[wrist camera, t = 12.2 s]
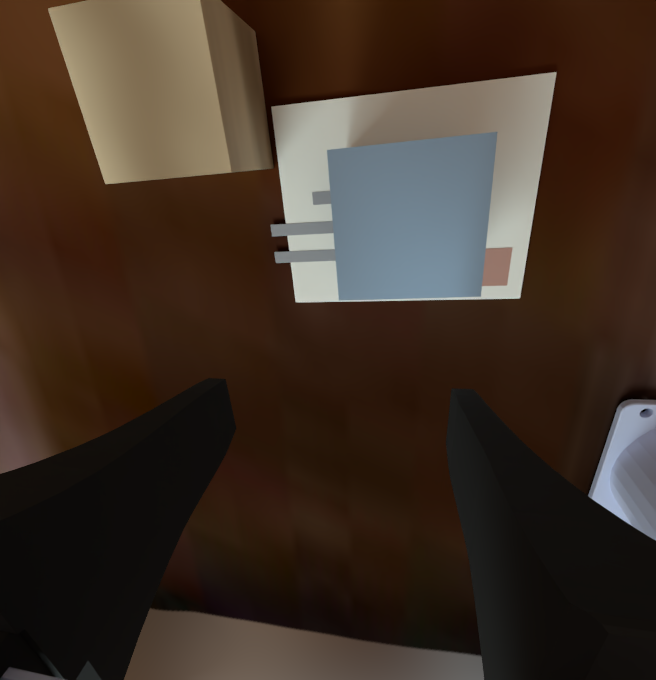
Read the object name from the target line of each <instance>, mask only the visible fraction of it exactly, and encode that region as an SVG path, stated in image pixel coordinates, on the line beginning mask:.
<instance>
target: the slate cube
mask: <svg viewBox="0 0 656 680" xmlns="http://www.w3.org/2000/svg"><path fill="white" fill-rule="evenodd" d="M496 142H497V132H490V133H481V134H471V135H462V136H453V137H443V138H434V139H425V140H415V141H406V142H397V143H387V144H378V145H368V146H359V147H350V148H340V149H331V150H327V158H328V170H329V183H330V195H331V208H332V221H333V233H334V246H335V258H336V271H337V283H338V296H339V300H375V299H412V298H449V297H481V291H482V281H483V271H484V261H485V251H486V241H487V231H488V221H489V211H490V202H491V192H492V182H493V172H494V162H495V152H496Z"/></svg>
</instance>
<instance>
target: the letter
mask: <svg viewBox="0 0 656 680" xmlns="http://www.w3.org/2000/svg"><path fill="white" fill-rule="evenodd" d="M556 73H557V72H552V73H544V74H536V75H528V76H520V77H511V78H503V79H495V80H487V81H478V82H470V83H462V84H454V85H446V86H437V87H429V88H421V89H413V90H404V91H396V92H388V93H380V94H372V95H363V96H355V97H347V98H339V99H330V100H322V101H314V102H306V103H298V104H289V105H281V106H273V107H271V109H272V117H273V125H274V133H275V141H276V149H277V157H278V165H279V173H280V181H281V189H282V197H283V205H284V213H285V221H286V224H275V225H271V232H272V236H287V237H288V244H289V251H287V252H274V253H275V260H276V263H289V262H291V268H292V276H293V284H294V292H295V300H296V302H347V301H403V300H460V299H516V298H520V295H521V289H522V283H523V277H524V271H525V264H526V258H527V252H528V246H529V240H530V233H531V227H532V221H533V215H534V209H535V203H536V196H537V190H538V184H539V178H540V172H541V166H542V159H543V153H544V147H545V141H546V135H547V128H548V122H549V116H550V110H551V104H552V98H553V91H554V85H555V79H556ZM490 132H497V142H496V152H495V162H494V172H493V182H492V192H491V202H490V211H489V221H488V231H487V241H486V251H485V261H484V271H483V281H482V291H481V297H449V298H412V299H375V300H339V296H338V283H337V271H336V258H335V246H334V233H333V221H332V208H331V195H330V183H329V170H328V158H327V150H331V149H340V148H350V147H359V146H368V145H378V144H387V143H397V142H406V141H415V140H425V139H434V138H443V137H453V136H462V135H471V134H481V133H490Z"/></svg>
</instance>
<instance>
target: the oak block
mask: <svg viewBox="0 0 656 680" xmlns="http://www.w3.org/2000/svg"><path fill="white" fill-rule="evenodd" d="M48 10H49V13H50V17H51V20H52V23H53V26H54V29H55V32H56V35H57V38H58V41H59V44H60V47H61V50H62V53H63V56H64V59H65V62H66V65H67V68H68V71H69V75H70V78H71V81H72V84H73V87H74V90H75V93H76V96H77V99H78V102H79V105H80V108H81V111H82V114H83V117H84V120H85V123H86V126H87V130H88V133H89V136H90V139H91V142H92V145H93V148H94V151H95V154H96V157H97V160H98V163H99V166H100V169H101V172H102V175H103V178H104V181H105V184H112V183H123V182H134V181H145V180H156V179H167V178H178V177H189V176H199V175H209V174H220V173H230V172H241V171H251V170H262V169H272V168H274V165H273V158H272V151H271V144H270V136H269V129H268V122H267V114H266V107H265V100H264V92H263V85H262V78H261V70H260V63H259V56H258V48H257V41H256V34H255V31H254V30H253V29H252V28H251V27H250V26H249V25H247V24H246V23H245V22H244V21H243V20H242V19H241V18H240V17H239V16H237V15H236V14H235V13H234V12H233V11H232V10H231V9H230V8H229V7H228V6H226V5H225V4H224V3H223V2H222V1H221V0H87V1H83V2H78V3H73V4H68V5H63V6H58V7H53V8H49V9H48Z"/></svg>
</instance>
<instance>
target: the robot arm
mask: <svg viewBox="0 0 656 680" xmlns="http://www.w3.org/2000/svg"><path fill="white" fill-rule="evenodd" d="M643 409H647V410H646V411H644V412H641V411H642V410H643ZM235 430H236V425H235V421H234V416H233V411H232V407H231V402H230V398H229V393H228V389H227V384H226V379H212V378H208V379H206V380H204V381H202V382H200V383H198V384H196V385H194V386H192V387H191V388H189V389H187V390H185V391H184V392H182V393H180V394H178V395H177V396H175V397H173V398H171V399H170V400H168V401H166V402H165V403H163V404H161V405H159V406H158V407H156V408H154V409H152V410H151V411H149V412H147V413H145V414H143V415H141V416H139V417H137V418H136V419H134V420H132V421H130V422H128V423H126V424H124V425H123V426H121V427H119V428H117V429H115V430H113V431H111V432H108V433H106V434H104V435H102V436H100V437H98V438H95V439H93V440H91V441H89V442H86V443H84V444H82V445H80V446H77V447H75V448H72V449H70V450H67V451H64V452H62V453H59V454H57V455H54V456H51V457H49V458H46V459H44V460H41V461H38V462H36V463H33V464H30V465H27V466H24V467H21V468H18V469H15V470H12V471H9V472H6V473H2V474H0V680H124V677H125V674H126V672H127V669H128V666H129V663H130V660H131V657H132V654H133V652H134V649H135V646H136V643H137V640H138V637H139V635H140V632H141V629H142V627H143V624H144V622H145V619H146V617H147V614H148V611H149V609H150V606H151V604H152V601H153V598H154V596H155V593H156V591H157V589H158V586H159V584H160V581H161V579H162V577H163V574H164V572H165V570H166V567H167V565H168V562H169V560H170V558H171V556H172V553H173V551H174V549H175V547H176V545H177V542H178V540H179V538H180V536H181V534H182V531H183V529H184V527H185V525H186V523H187V522H188V520H189V518H190V516H191V514H192V512H193V511H194V509H195V507H196V505H197V504H198V502H199V500H200V498H201V497H202V495H203V493H204V492H205V490H206V488H207V486H208V485H209V483H210V481H211V479H212V478H213V476H214V474H215V473H216V471H217V469H218V467H219V465H220V464H221V462H222V460H223V458H224V456H225V455H226V452H227V450H228V448H229V445H230V443H231V440H232V438H233V435H234V432H235ZM446 446H447V456H448V465H449V473H450V478H451V482H452V487H453V491H454V496H455V500H456V504H457V508H458V513H459V517H460V521H461V525H462V530H463V534H464V538H465V542H466V547H467V552H468V557H469V562H470V569H471V576H472V583H473V591H474V598H475V605H476V613H477V621H478V629H479V637H480V645H481V654H482V663H483V671H484V680H656V400H640V399H631V400H626V401H624V402H622V403H621V404H619V406H618V408H617V411H616V414H615V417H614V420H613V423H612V426H611V429H610V432H609V435H608V438H607V441H606V444H605V447H604V450H603V453H602V456H601V459H600V462H599V465H598V468H597V471H596V474H595V477H594V480H593V483H592V486H591V489H590V492H589V495H588V496H587V495H586V494H584V493H583V492H582V491H580V490H579V489H578V488H576V487H575V486H574V485H573V484H571V483H570V482H569V481H567V480H566V479H565V478H564V477H562V476H561V475H560V474H559V473H557V472H556V471H555V470H553V469H552V468H551V467H550V466H549V465H548V464H546V463H545V462H544V461H543V460H542V459H541V458H540V457H538V456H537V455H536V454H535V453H534V452H533V451H532V450H531V449H530V448H528V447H527V446H526V445H525V444H524V443H523V442H522V441H521V440H520V439H519V438H518V437H517V436H516V435H515V434H514V433H513V432H512V431H511V430H510V429H509V428H508V427H507V426H506V425H505V424H504V423H503V422H502V420H501V419H500V418H499V417H498V416H497V415H496V414H495V413H494V412H493V411H492V410H491V408H490V407H489V406H488V405H487V404H486V403H485V402H484V400H483V399H482V398H481V397H480V396H479V395H478V394H477V393H476V392H475V391H474V390H473V389H452V391H451V401H450V410H449V420H448V429H447V439H446ZM631 525H632V526H631Z"/></svg>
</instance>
